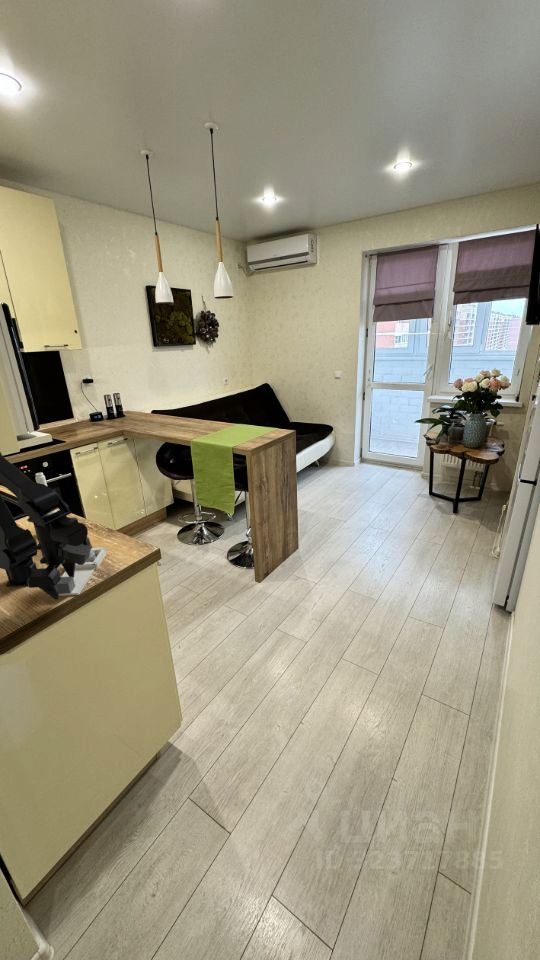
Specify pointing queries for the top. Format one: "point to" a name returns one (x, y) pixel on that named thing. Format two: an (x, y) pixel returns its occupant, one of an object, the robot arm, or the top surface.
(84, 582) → the grey board with frame
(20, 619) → the top surface
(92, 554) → the rook chess piece
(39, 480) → the cosmetic bottle
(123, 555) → the top surface
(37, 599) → the top surface
